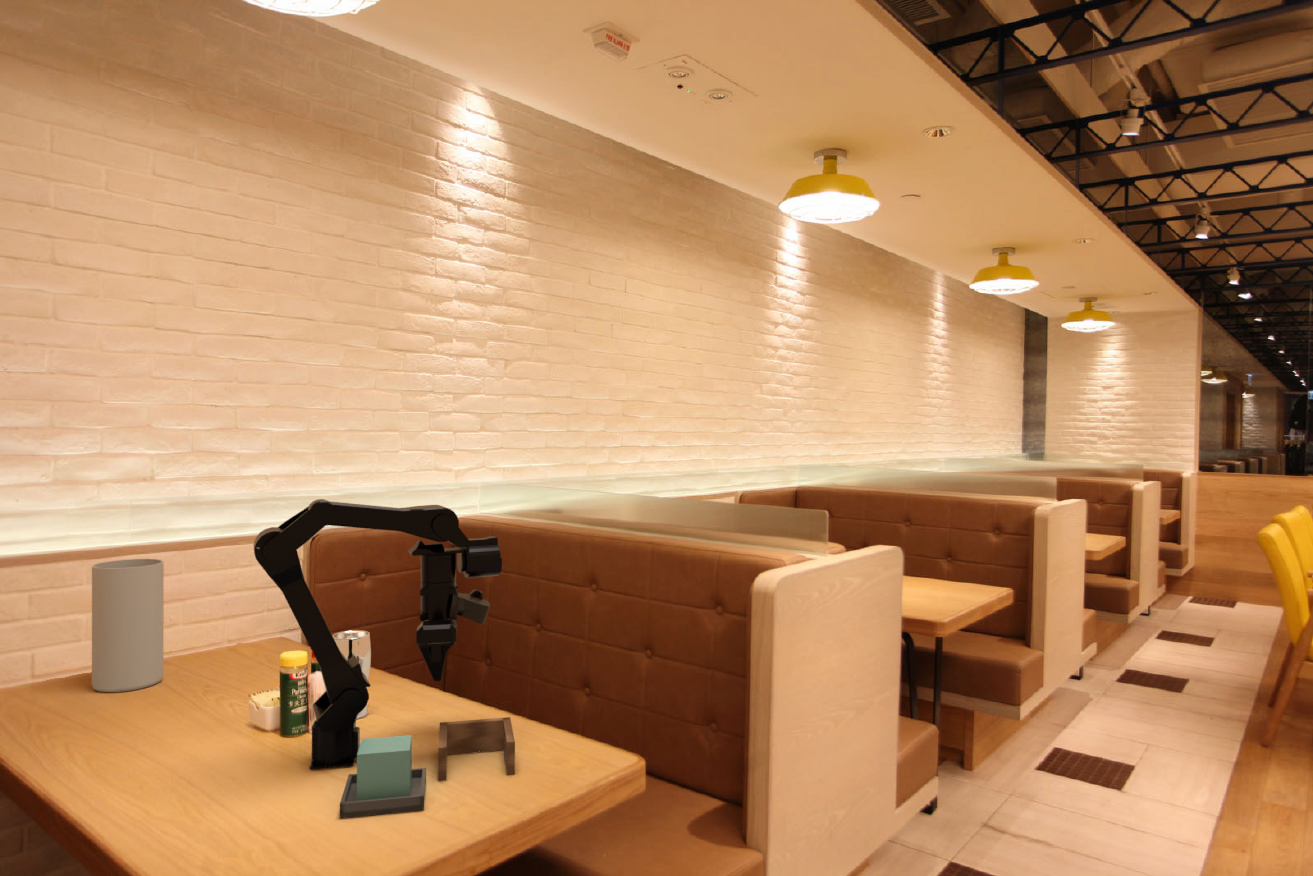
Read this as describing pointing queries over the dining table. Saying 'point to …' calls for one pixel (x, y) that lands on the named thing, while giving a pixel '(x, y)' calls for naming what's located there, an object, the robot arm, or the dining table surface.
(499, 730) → the frame
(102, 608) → the cylinder vase
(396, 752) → the teal block
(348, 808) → the gray tray
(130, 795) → the dining table surface
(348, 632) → the beer glass
